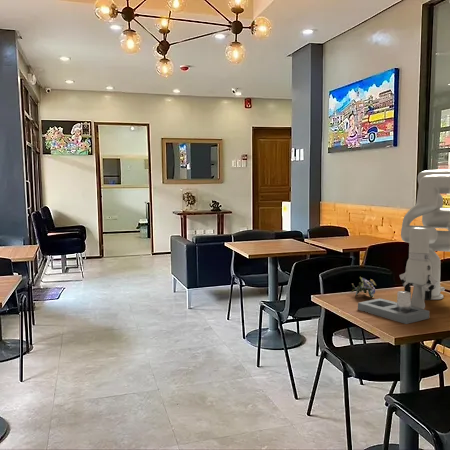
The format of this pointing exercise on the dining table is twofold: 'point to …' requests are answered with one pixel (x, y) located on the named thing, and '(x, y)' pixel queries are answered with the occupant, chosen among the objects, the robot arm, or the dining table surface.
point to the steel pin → (404, 302)
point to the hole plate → (392, 311)
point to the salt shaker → (417, 297)
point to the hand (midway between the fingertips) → (417, 297)
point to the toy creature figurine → (365, 287)
